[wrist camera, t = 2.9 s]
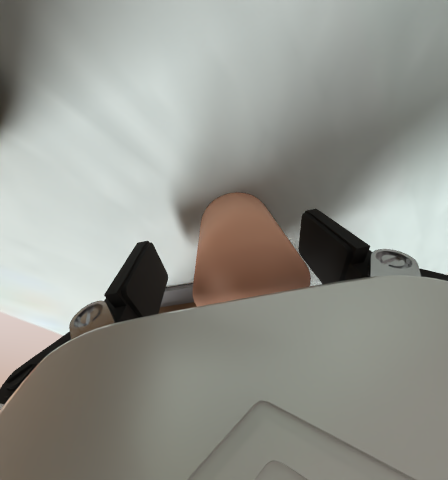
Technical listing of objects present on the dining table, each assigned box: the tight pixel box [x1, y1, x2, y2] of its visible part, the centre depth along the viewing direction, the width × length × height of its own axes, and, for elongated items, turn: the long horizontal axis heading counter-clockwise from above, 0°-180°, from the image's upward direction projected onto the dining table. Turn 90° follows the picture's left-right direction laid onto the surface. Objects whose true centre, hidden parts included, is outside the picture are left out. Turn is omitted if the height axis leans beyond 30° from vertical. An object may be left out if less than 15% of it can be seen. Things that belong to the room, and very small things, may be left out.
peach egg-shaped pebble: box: [192, 192, 311, 307], centre depth 10 cm, size 5×5×6 cm
